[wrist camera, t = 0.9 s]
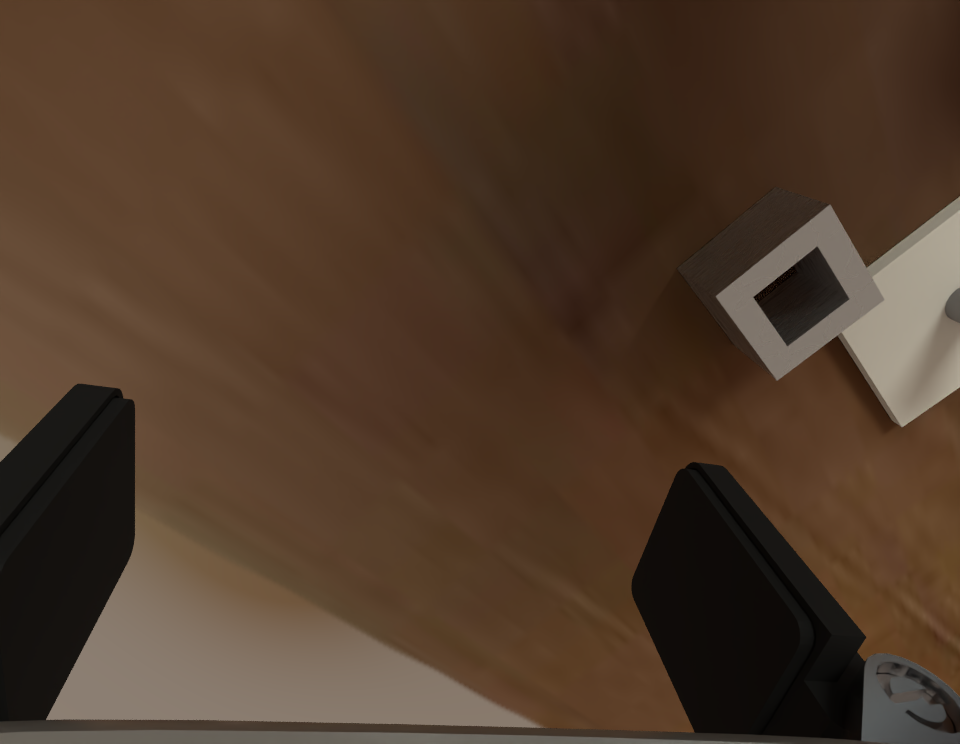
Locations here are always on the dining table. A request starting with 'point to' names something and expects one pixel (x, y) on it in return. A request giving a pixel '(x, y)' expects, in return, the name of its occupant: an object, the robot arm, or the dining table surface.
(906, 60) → the dining table surface
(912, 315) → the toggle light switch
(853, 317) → the grey hollow square block
